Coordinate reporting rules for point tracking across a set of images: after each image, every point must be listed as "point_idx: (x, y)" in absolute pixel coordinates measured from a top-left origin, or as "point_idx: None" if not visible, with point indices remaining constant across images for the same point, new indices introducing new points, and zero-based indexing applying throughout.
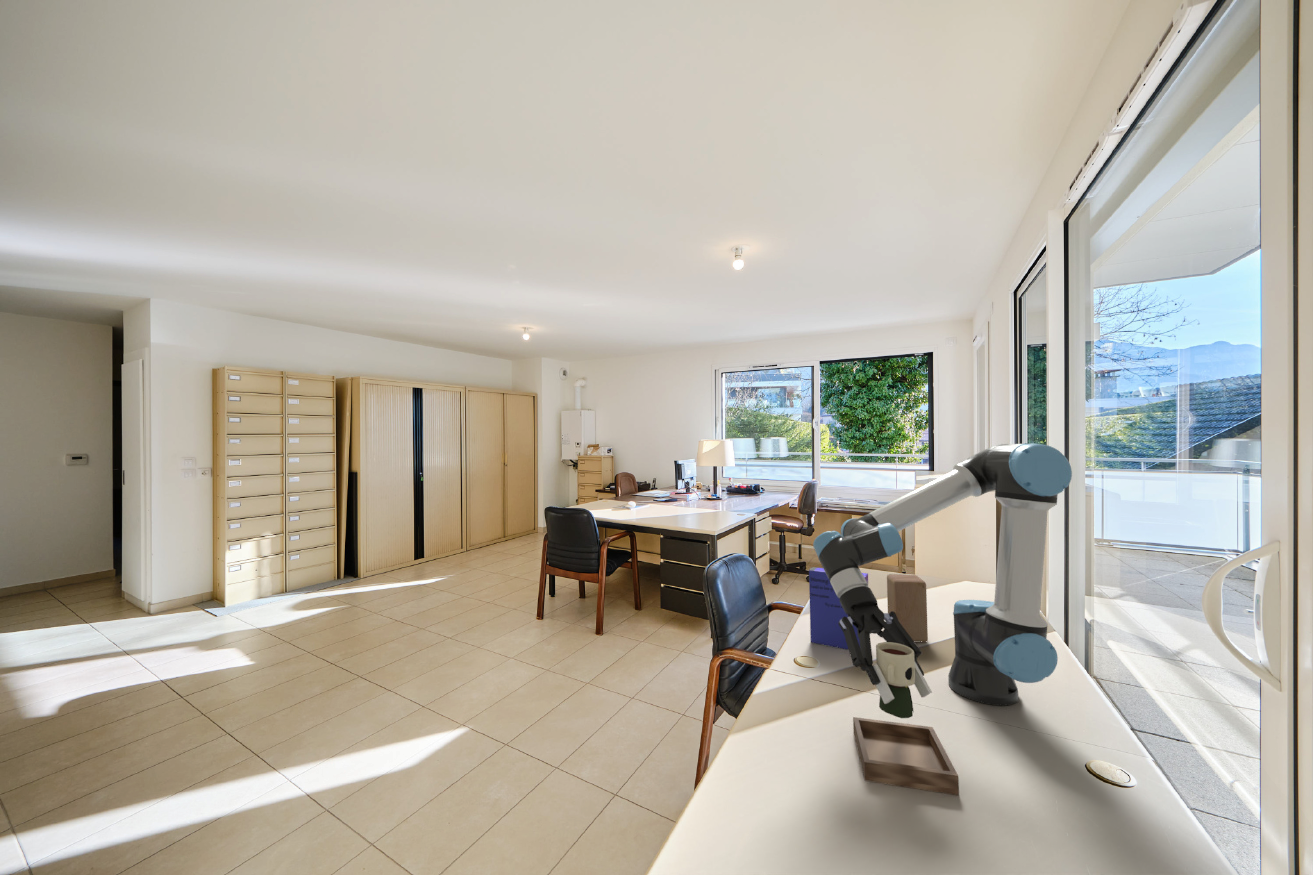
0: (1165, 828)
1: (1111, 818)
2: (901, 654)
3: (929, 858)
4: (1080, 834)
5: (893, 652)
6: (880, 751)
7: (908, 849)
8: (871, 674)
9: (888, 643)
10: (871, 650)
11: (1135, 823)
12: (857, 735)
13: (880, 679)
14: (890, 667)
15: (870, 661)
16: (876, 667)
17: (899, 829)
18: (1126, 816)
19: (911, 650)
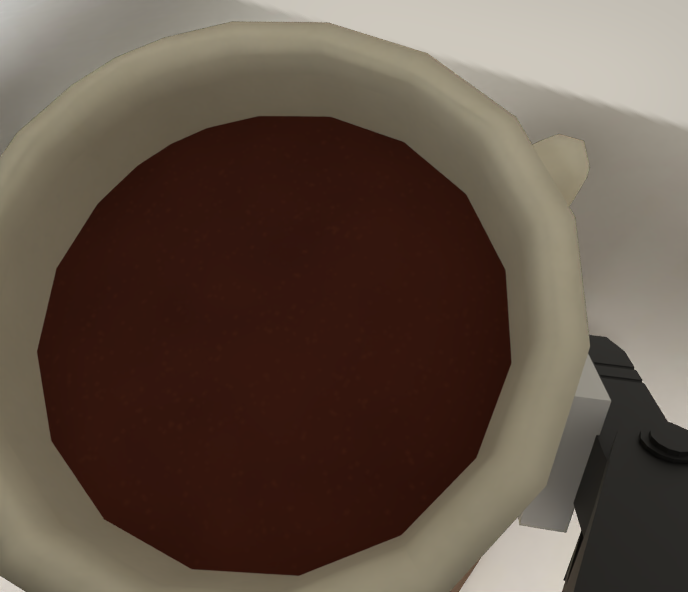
0: (11, 13)
1: (69, 60)
2: (160, 287)
3: (605, 118)
4: None
5: (200, 391)
6: None
7: (637, 152)
8: (644, 390)
9: (81, 557)
10: (582, 572)
11: (45, 37)
12: (473, 567)
13: None
14: (576, 143)
15: (671, 437)
16: (589, 375)
17: (610, 205)
18: (33, 53)
19: (59, 127)
